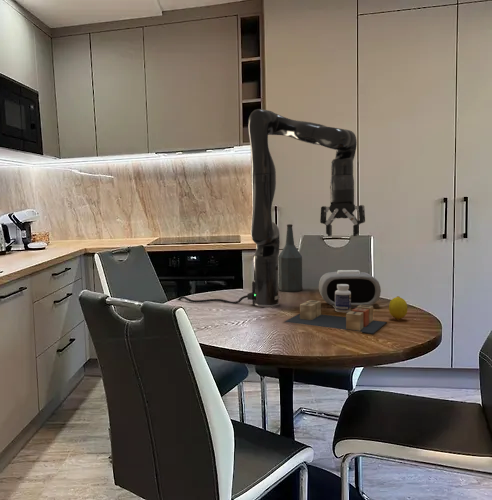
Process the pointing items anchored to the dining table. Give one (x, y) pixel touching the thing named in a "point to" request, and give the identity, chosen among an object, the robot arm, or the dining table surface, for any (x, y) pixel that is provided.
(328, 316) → the word mat
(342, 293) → the pill bottle
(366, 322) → the red block
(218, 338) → the dining table surface
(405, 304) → the lemon
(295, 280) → the bottle
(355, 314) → the letter block row
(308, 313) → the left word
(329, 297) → the alarm clock
